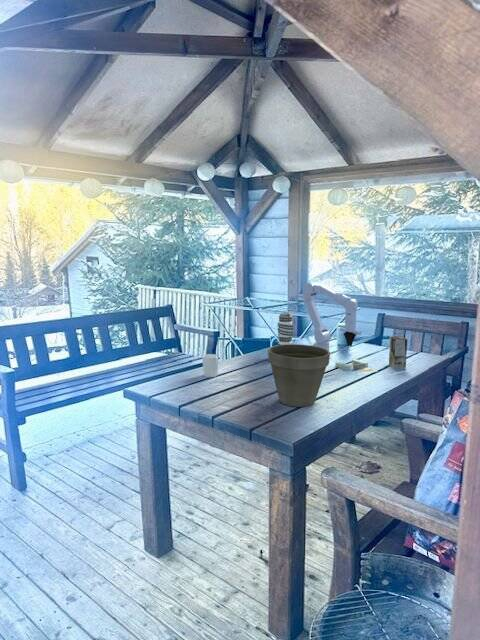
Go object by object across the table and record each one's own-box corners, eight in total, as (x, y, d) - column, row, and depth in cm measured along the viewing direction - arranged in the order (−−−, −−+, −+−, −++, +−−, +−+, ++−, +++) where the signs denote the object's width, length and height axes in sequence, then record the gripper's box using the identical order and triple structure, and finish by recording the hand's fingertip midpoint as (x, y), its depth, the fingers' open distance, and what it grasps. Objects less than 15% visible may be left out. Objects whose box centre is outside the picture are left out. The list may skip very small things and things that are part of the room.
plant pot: (339, 400, 189) (341, 349, 186) (306, 417, 171) (307, 360, 168) (290, 388, 206) (291, 341, 202) (255, 402, 188) (255, 350, 184)
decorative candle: (274, 354, 271) (274, 312, 267) (287, 353, 274) (288, 311, 270) (282, 357, 262) (282, 314, 258) (295, 356, 266) (296, 313, 262)
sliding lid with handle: (350, 371, 235) (351, 365, 235) (364, 369, 240) (365, 362, 240) (363, 375, 228) (364, 369, 227) (378, 373, 233) (378, 366, 232)
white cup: (221, 374, 229) (221, 355, 227) (213, 378, 221) (213, 358, 220) (207, 372, 232) (207, 353, 230) (199, 376, 225) (199, 356, 223)
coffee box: (406, 370, 236) (407, 339, 234) (393, 369, 236) (395, 339, 234) (400, 365, 245) (402, 336, 243) (388, 365, 245) (389, 335, 243)
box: (335, 367, 242) (335, 362, 241) (355, 363, 249) (355, 359, 249) (347, 371, 234) (347, 366, 234) (367, 367, 242) (368, 362, 241)
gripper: (335, 320, 252) (335, 344, 254) (354, 323, 240) (353, 349, 242) (345, 319, 256) (344, 342, 258) (364, 322, 243) (363, 347, 245)
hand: (349, 345), depth 250 cm, fingers closed
